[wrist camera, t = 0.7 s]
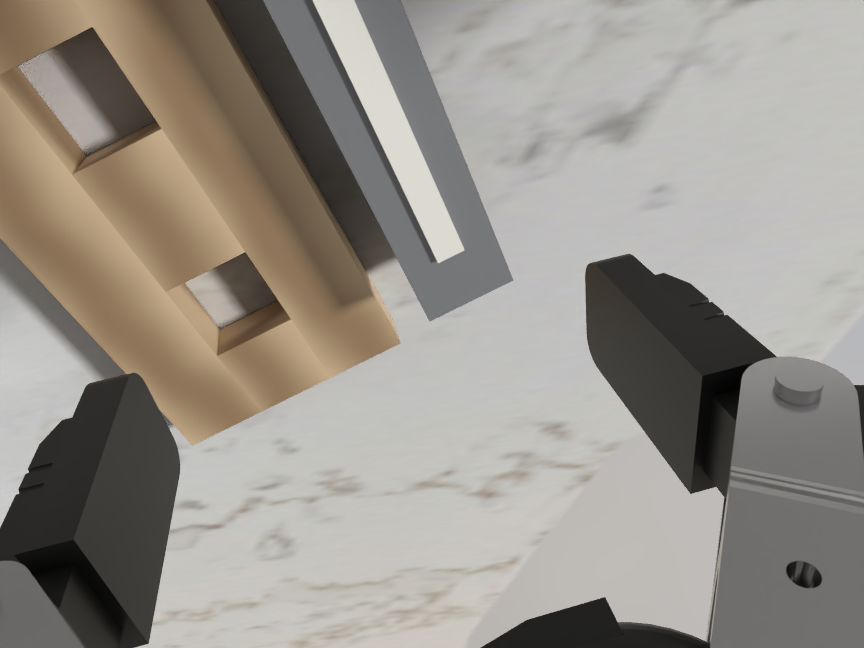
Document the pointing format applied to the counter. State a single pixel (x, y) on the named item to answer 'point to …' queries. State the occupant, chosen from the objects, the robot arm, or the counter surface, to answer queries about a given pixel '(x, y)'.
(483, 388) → the counter surface
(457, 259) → the strip
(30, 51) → the socket board
